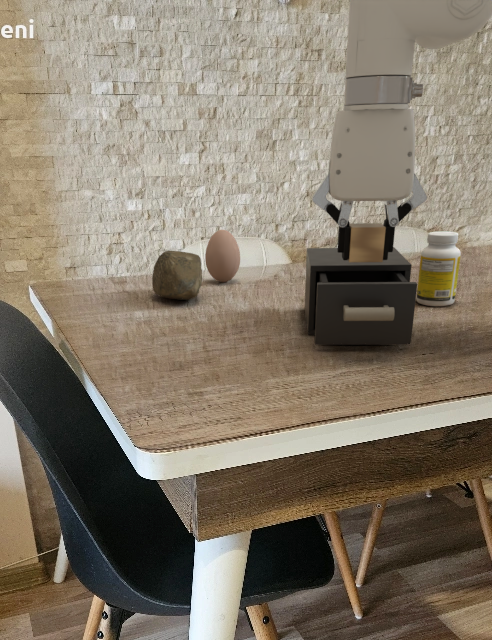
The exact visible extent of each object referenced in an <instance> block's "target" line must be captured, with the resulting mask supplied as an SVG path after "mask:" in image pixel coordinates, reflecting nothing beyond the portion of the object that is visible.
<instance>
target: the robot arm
mask: <svg viewBox="0 0 492 640" xmlns="http://www.w3.org/2000/svg"><path fill="white" fill-rule="evenodd" d="M348 9H349V11H348V26H347V27H348V28H347V42H346V43H347V44H346V61H345V63H346V64H345V79H344V95H343V96H344V97H343V110H338V111H336V115H335V119H334V123H333V128H332V129H333V130H332V136H331V141H330V152H329V162H328V173H327V174H326V176H325V178H324V179H323V181H322V182H321V183H320V185H319V186H318V188H317V189H316V191H315V192H314V194H313V195H312V197H311V200H312V203H313V204H315V205H316V206H318V207H319V208H320V209H322V210H323V211H324V212H326V213H327V214H328V215H329V216H330V217H331V219H332V220H333V221H334V222H335V223H336V225H337V226H338V230H337V231H338V233H337V247H336V248H337V251H338V253H342V258H343V260H348V259H349V251H350V236H351V228H350V227H349V225H350V224H351V222H350V221H349V219H350V215H351V213H352V208H353V205H354V202H383V206H384V215H385V219H383V223H382V225H384V226H385V227H386V230H385V241H384V252H383V260H387V259H388V252H393V247H394V245H395V233H396V227H397V226H398V225H399V223H400V222H401V221H402V220H403V219H405V217H406V216H408V215H409V214H410V213H411V211H413V210H414V209H416V208H417V207H419V206H421V205H422V204H424V203H425V202H426V201H427V199H428V195H427V193H426V191H425V190H424V188H423V186H422V185H421V182H420V181H419V178H418V177H417V174H416V173H415V165H416V164H415V162H416V122H415V111H414V109H415V108H409V105H410V104H411V101H413V99H416V98H422V97H423V93H424V84H423V83H417V82H414V80H413V79H414V78H413V77H412V75H413V66H414V65H413V64H414V53H415V44H417V46H420V47H422V48H424V49H427V50H439V49H443V48H446V47H448V46H450V45H453V44H457V43H459V42H461V41H464V40H466V39H469V38H470V37H472V36H474V35H475V34H477V33H478V32H479V31H481V29H482V28H483V27H485V25H486V24H487V23H488V22H489V20H490V19H491V18H492V0H349V8H348ZM327 194H329V195H330V196H331V198H333V199H334V200H336V201H340V206H339V208H338V207H337V206H336V205H335V204H334V203H333V202H331V201H330V200H329V199H328V198H327ZM407 198H408V199H407ZM405 199H406V200H405ZM401 200H405V201H404V202H402V203H400V205H398V201H401Z"/></svg>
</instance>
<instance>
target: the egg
mask: <svg viewBox="0 0 492 640" xmlns="http://www.w3.org/2000/svg"><path fill="white" fill-rule="evenodd" d="M204 256H205V259H204V260H205V267H206V270H207V272H208V274H209V275H210V276H211V277H212V278H213V279H214V280H215V281H217V282H219V283H226V282H227V283H228V282H229V281H232V279H234V277H235V276H236V274H237V273H238V271H239V269H240V266H241V250H240V247H239V244H238V242H237V240H236V238H235V236H234V235H233V234H232V233H231V232H230V231H229V230H226V229H218V230H216V231H215V232H214V233H213V234H212V235H211V237H210V238H209V240H208V243H207V244H206V249H205V255H204Z"/></svg>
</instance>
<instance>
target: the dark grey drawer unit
mask: <svg viewBox="0 0 492 640" xmlns="http://www.w3.org/2000/svg"><path fill="white" fill-rule="evenodd" d="M337 248H338V247H307V248H306V253H305V255H306V256H305V257H306V258H305V261H306V262H305V288H304V315H305V322H306V330H307V335H308V336H312V335H313V336H315V323H316V316H315V315H316V291H317V272H320V271H399V272H400V273H401V274H402V275H403V276H404V277H405V279H406V280H407V281H408V282H411V275H412V266H413V265H412V264H411V262H410V261H408V259H407V258H405V256H404V255H402V254H401V252H400V251H398V249H396V247H394V246H393V252H388V259H387V260H383V262H349V261H348V260H343V258H342V253H338V251H337Z"/></svg>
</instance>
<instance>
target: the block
mask: <svg viewBox="0 0 492 640" xmlns="http://www.w3.org/2000/svg"><path fill="white" fill-rule="evenodd" d="M349 227H350V228H351V236H350V251H349V259H348V261H349V262H383V252H384V241H385V230H386V227H385V226H384V225H383V223H381V222H373V223H372V222H370V223H369V222H368V223H366V222H365V223H361V222H360V223H358V222H357V223H356V222H355V223H354V222H353V223H350V225H349Z"/></svg>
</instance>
